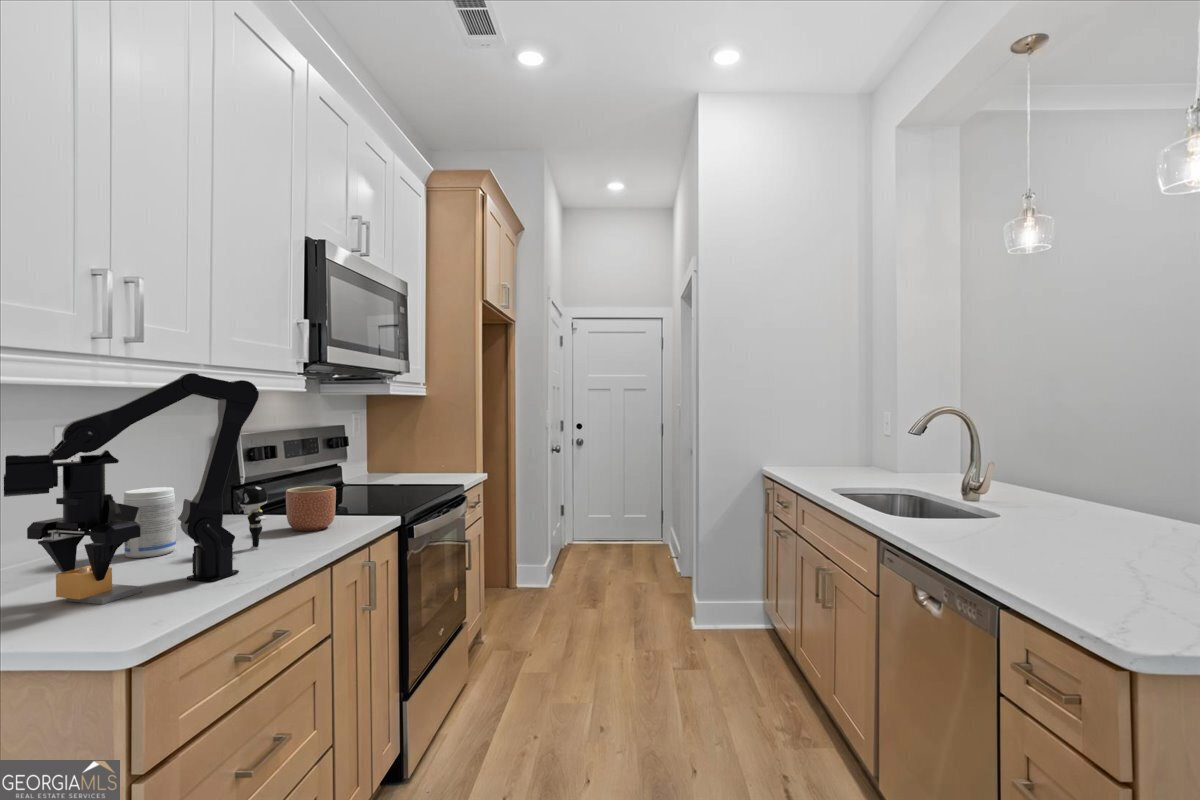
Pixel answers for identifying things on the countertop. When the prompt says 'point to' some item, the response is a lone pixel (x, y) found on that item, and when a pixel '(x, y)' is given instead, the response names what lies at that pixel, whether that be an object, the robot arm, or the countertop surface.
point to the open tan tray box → (81, 584)
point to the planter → (310, 507)
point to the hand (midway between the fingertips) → (84, 579)
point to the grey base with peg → (108, 592)
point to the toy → (254, 510)
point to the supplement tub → (152, 522)
